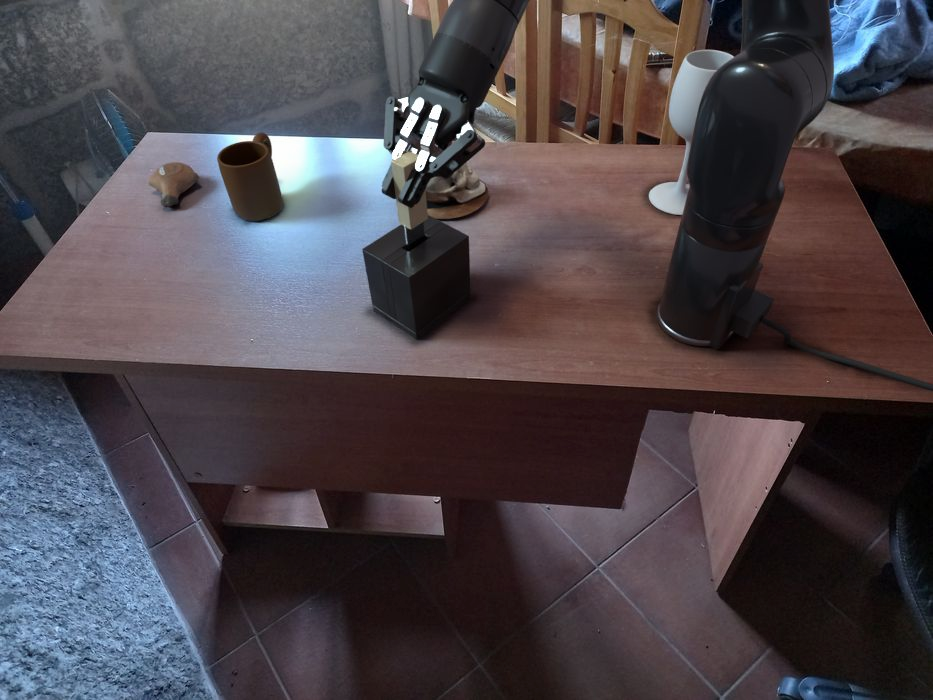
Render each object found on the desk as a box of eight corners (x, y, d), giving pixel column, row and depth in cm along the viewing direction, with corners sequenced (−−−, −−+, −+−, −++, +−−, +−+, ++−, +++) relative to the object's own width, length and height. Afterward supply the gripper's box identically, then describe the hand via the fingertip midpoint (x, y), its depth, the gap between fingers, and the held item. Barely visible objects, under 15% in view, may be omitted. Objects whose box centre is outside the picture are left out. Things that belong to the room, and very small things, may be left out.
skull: (485, 165, 105) (489, 144, 95) (487, 229, 105) (491, 214, 95) (411, 166, 105) (407, 145, 95) (412, 230, 105) (408, 216, 95)
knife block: (471, 298, 85) (469, 235, 78) (416, 339, 80) (409, 277, 73) (427, 272, 89) (421, 211, 82) (373, 310, 84) (361, 248, 77)
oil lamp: (139, 204, 104) (175, 217, 101) (127, 184, 101) (163, 197, 98) (179, 170, 109) (214, 183, 106) (168, 150, 105) (204, 162, 103)
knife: (435, 296, 84) (422, 156, 70) (419, 307, 83) (403, 167, 68) (424, 289, 85) (409, 150, 71) (408, 300, 84) (390, 161, 69)
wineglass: (690, 179, 103) (724, 42, 88) (718, 210, 97) (760, 68, 82) (639, 189, 101) (664, 51, 86) (664, 220, 96) (697, 78, 80)
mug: (255, 178, 107) (239, 124, 100) (300, 181, 106) (287, 126, 99) (226, 221, 99) (206, 165, 92) (274, 224, 98) (257, 168, 91)
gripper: (402, 15, 69) (333, 167, 71) (502, 48, 62) (422, 214, 65) (440, 51, 75) (375, 189, 78) (535, 84, 69) (460, 233, 71)
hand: (397, 200), depth 71 cm, fingers closed on knife, 2 cm apart
